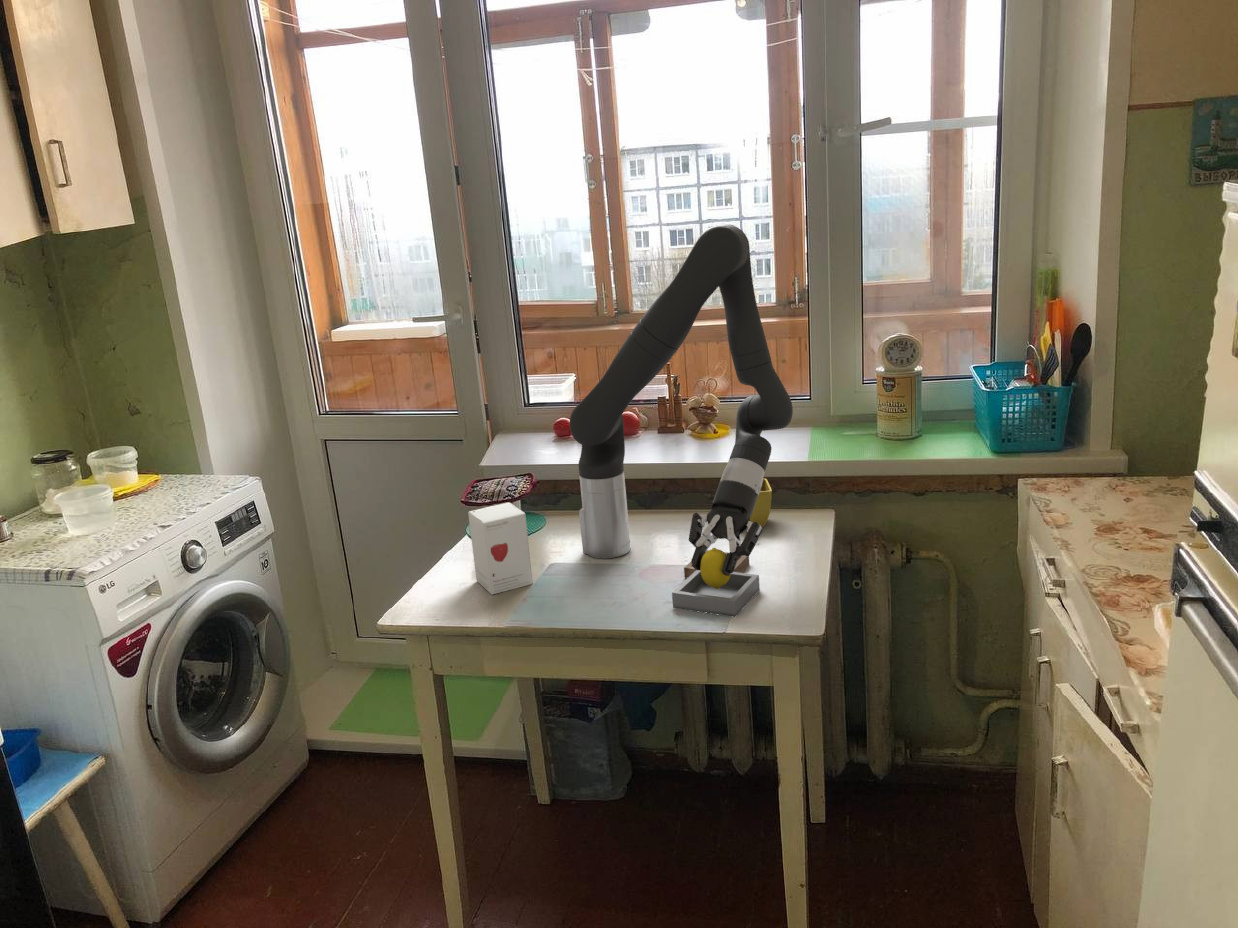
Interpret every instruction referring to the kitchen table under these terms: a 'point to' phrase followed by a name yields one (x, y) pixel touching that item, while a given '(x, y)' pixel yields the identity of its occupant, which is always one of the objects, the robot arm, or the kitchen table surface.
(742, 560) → the wooden square frame
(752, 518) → the flower pot
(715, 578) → the lemon
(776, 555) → the kitchen table surface
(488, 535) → the supplement box
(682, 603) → the charcoal tray
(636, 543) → the kitchen table surface
